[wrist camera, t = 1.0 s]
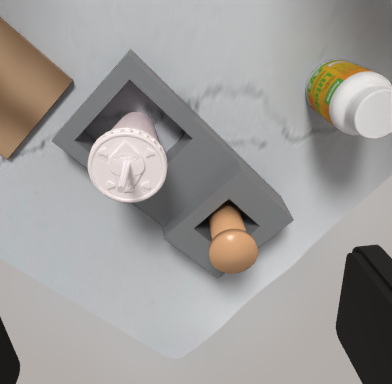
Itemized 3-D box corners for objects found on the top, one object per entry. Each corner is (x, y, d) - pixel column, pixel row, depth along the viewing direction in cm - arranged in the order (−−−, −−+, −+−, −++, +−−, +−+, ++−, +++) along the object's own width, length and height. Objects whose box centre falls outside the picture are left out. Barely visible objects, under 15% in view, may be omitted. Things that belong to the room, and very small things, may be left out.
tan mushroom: (225, 189, 39) (236, 226, 33) (252, 213, 40) (267, 253, 34) (194, 215, 40) (199, 256, 34) (222, 238, 42) (231, 280, 36)
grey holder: (130, 49, 34) (125, 57, 29) (280, 196, 43) (293, 220, 38) (59, 130, 37) (45, 149, 32) (213, 251, 46) (217, 278, 41)
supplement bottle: (308, 58, 35) (353, 80, 27) (362, 57, 35) (423, 79, 27) (300, 113, 38) (339, 148, 29) (351, 111, 38) (403, 146, 30)
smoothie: (167, 99, 36) (167, 154, 24) (167, 158, 39) (167, 233, 27) (102, 97, 36) (68, 153, 23) (107, 157, 39) (79, 234, 26)
